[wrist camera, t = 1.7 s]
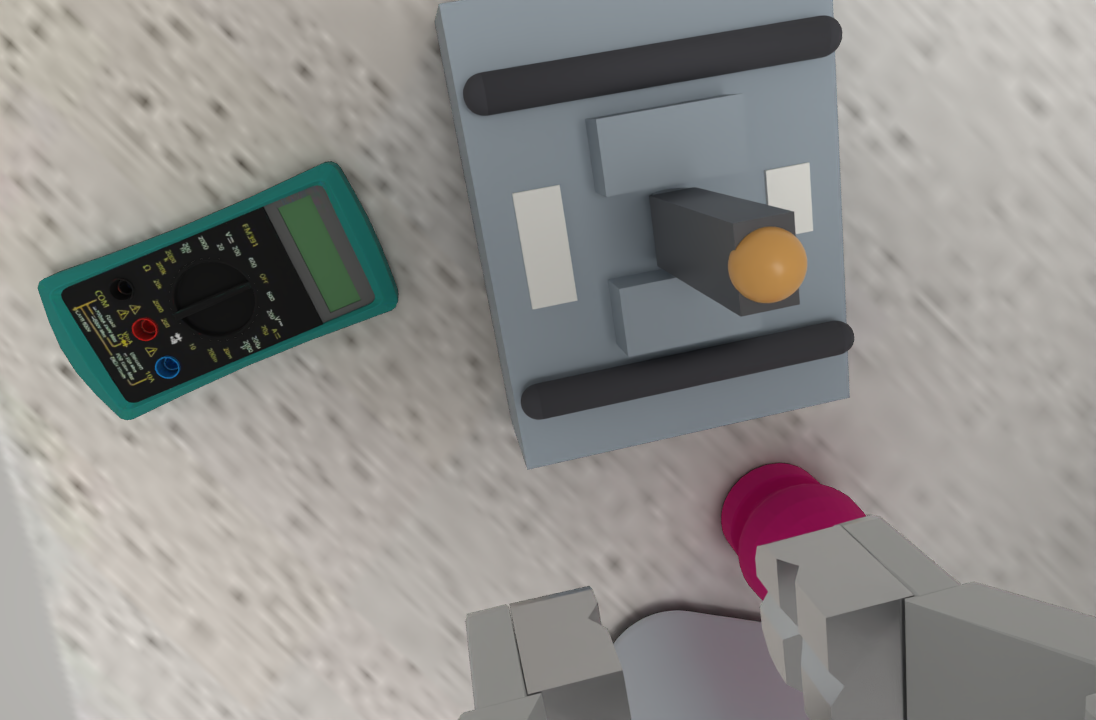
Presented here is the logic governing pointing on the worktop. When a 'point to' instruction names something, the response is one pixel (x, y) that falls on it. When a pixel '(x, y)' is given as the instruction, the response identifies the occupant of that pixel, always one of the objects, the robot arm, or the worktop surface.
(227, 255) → the digital multimeter
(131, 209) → the worktop surface
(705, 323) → the box
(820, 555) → the robot arm
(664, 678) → the plastic bottle
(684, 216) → the breaker lever
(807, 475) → the pepper mill
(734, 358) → the dark parallel rails
